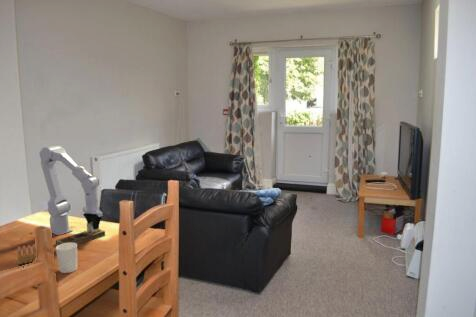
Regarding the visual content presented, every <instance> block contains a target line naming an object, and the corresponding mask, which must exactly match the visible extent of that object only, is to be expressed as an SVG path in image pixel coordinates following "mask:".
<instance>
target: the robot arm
mask: <svg viewBox="0 0 476 317" xmlns="http://www.w3.org/2000/svg"><path fill="white" fill-rule="evenodd" d="M38 154H39V157H40V165H41V168H42V173H43V177H44V179H45V183H46V186H47V190H48V194H49V196H50V198H49V200H48V201H47V206H48V208H47V211H48V214H49V215H50V217H49V227H50V228H51V229H50V228H49V229H50V230H52V232H51V234H54V235H57V236H60V235H64V234H66V233H69V232H73V229H71V228H70V226H69V224H70V223H69V215H68V214H69V211H70V210H71V203H70V202H69V200H68V197H67V196H65V195H63V193H62V189H61V186H60V182H59V178H58V175H57V171H56V169H55V164H56V162H61V163H62V164H64V165H65V166H66V167H67V168H68V169H69V170H71V171H72V172H71V174H72V175H73V177H74V178H75V179H76V180H78V181H79V182H80V184H81V185H80V186H81V188H82V189H83V192H84V196H85V198H84V199H85V206H84V207H82V212H83V214H82V215H83V216H84V218H85V221H86V224H87V223H89V222H93V227H94V229H98V228H99V229H100V223H101V220H102V218H103V217H104V215H103V212H102V210H100V208H99V197H98V196H99V195H98V194H99V193H98V187H99V185H100V179H99V178H98V177H97V176H96V175H92V174H91V173H90V172H88V171H87V170H86V168H85V167H84V166H81V165H78V164H77V163H76V162H75V161H74V160H73V158H71V157H70V156H69V154H67V152H66V149H65V148H64V147H63V146H62V145H61V144H56V145H51V146H45V147H42V148H41V150H40V151H39V153H38Z"/></svg>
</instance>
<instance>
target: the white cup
mask: <svg viewBox="0 0 476 317" xmlns="http://www.w3.org/2000/svg"><path fill="white" fill-rule="evenodd" d="M55 252H56V258H57V265H58V270H59V273H62V274H67V273H68V274H69V273H73V272H75V271H77V270H78V244H76V243H66V242H65V243H63V244H60V245H56V246H55Z"/></svg>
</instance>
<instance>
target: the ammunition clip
mask: <svg viewBox="0 0 476 317" xmlns="http://www.w3.org/2000/svg"><path fill="white" fill-rule="evenodd" d="M31 248H32V249H31ZM36 252H37V248H36V245H35V243H33V244H32V247H31V245H30V244H28V245H27V249H26V246H25V245H22V249H21V247H20V246H17V264H18V266H22V265H25V264H29V263H32V262H33V261H34V260H35V258H36Z"/></svg>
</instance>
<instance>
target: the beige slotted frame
mask: <svg viewBox="0 0 476 317" xmlns="http://www.w3.org/2000/svg"><path fill="white" fill-rule="evenodd" d="M105 236H106V231H105V230H103V229H100V228H99V232H97V233H94V234H91V233H89V232H87V229H86V230H84V231H82V232H79V233H78V232H77V233H75V234H71V235H69V236H64V237H62V238H59V239H55V245H56V246H58V245H60V244H63V243H76V244H77V245H79V244H82V243H86V242H90V241H92V240H94V239H98V238H102V237H105Z"/></svg>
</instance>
